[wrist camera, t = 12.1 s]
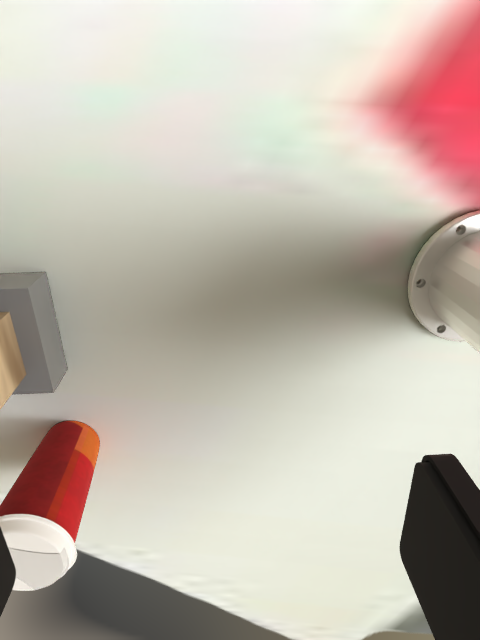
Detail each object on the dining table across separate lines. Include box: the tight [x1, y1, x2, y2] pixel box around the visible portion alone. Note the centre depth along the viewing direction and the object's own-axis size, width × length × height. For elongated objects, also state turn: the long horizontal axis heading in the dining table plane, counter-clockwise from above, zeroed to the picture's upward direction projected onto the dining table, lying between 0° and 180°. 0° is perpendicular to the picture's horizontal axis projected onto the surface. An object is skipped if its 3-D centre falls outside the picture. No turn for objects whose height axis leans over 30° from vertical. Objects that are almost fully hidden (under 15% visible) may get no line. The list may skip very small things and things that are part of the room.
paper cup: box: [0, 421, 100, 591], centre depth 40 cm, size 8×8×14 cm
